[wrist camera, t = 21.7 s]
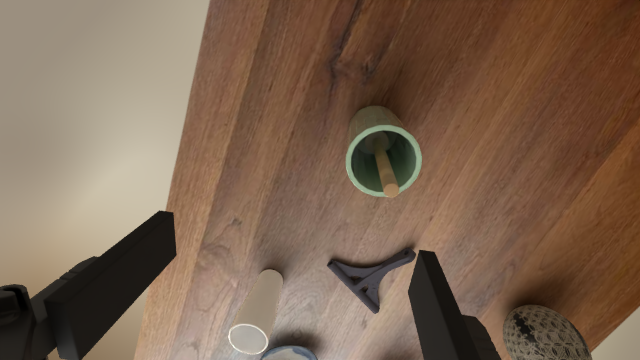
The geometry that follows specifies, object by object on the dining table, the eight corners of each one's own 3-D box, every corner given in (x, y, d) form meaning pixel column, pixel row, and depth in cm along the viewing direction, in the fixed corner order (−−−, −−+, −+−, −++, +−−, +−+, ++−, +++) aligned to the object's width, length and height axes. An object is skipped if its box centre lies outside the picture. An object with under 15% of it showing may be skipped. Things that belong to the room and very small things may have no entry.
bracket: (434, 273, 58) (438, 282, 56) (373, 309, 63) (373, 319, 60) (388, 220, 56) (390, 228, 53) (327, 262, 60) (326, 270, 58)
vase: (338, 126, 50) (331, 154, 35) (381, 94, 48) (394, 109, 32) (367, 165, 52) (373, 209, 36) (409, 136, 50) (436, 170, 34)
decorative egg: (515, 345, 63) (561, 426, 49) (478, 312, 61) (515, 386, 47) (568, 316, 59) (635, 394, 45) (531, 279, 57) (589, 349, 43)
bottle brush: (359, 131, 49) (364, 186, 27) (377, 118, 48) (397, 164, 26) (371, 147, 50) (385, 214, 28) (389, 135, 49) (418, 194, 27)
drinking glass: (253, 288, 64) (226, 350, 50) (256, 261, 62) (228, 319, 48) (285, 294, 64) (266, 358, 50) (289, 268, 62) (270, 328, 48)
